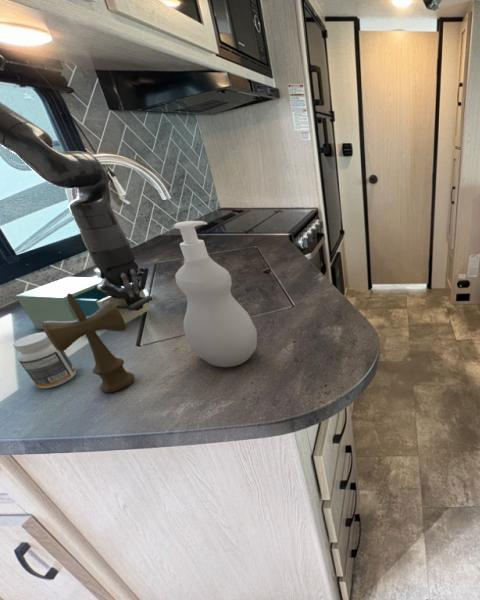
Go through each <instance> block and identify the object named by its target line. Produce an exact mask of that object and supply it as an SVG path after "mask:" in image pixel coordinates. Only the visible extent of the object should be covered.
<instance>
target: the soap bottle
mask: <svg viewBox="0 0 480 600" xmlns="http://www.w3.org/2000/svg"><path fill="white" fill-rule="evenodd" d="M202 225H208V222H206V221H204V220H185V221H179V222H176V223H174V224H173V228H174V229H176V230H177V229H178V230H179V231H180V234H181V237H182V242H180V243H179V248H180V251H181V253H182V256H183V264H182V266H181V267H180V268H179V269H178V270H177V272H176V273H175V274H174V278H175V283H176V285H177V287H178V289H179V290H180V291H181V292H182V293H183V294H184V295H185V298H186V300H187V303H186V310H185V313H184V318H183V322H182V323H183V329H184V330H183V331H184V337H185V341H186V343H187V344H188V345H189V347H190V348H191V349H192V350H193V352H194V353H195V354H196V356H198V357H199V358H200V359H202V360H204V362H207V363H208V364H210V365H211V366H214V367H220V368H231V367H236V366H239V365H241V364H243V363H245V362H247V361H248V360H249V359H250V358H251V356H253V354H254V353H255V351H256V350H257V347H258V330H257V328H256V326H255V324H254V322H253V320H252V318H251V316H250V314H249V313H248V312H247V310H246V309H244V307H243V306H241V304H240V303H239V302H238V301H237V300H236V299H235V297H234V296H233V294H232V292H231V291H232V290H231V289H232V286H233V280H232V276H231V274H230V273H229V271H228V270H227V269H226V268H224V267H223V266H221V265H220V264H218V263H217V262H216V261H214V259H212V258H211V256H210V255H209V253H208V251H207V247H206V243H205V240H203V239H199V237H198V234H197V231H196V228H195V227H197V226H202Z"/></svg>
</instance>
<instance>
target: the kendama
mask: <svg viewBox="0 0 480 600" xmlns="http://www.w3.org/2000/svg"><path fill="white" fill-rule="evenodd" d="M67 296H68V299H69V301H70V303H71V305H72V307H73V309H74V311H75V313H76V315H77V317H78V320H75V321H44V322H43V323H42V326H43V329H42V330H43V331H44V332H45V333H46V335H47V337H48V339H49V340H50V341H51V343H52V344H53V346H54V347H55V348H56V349H57V350H58V351H60V352H62V351H64V352H65V351H66V350H68V349H69V348H70V347H71V346H72V345H73V344H74V343H75V342H76V341H78V340H79V339H81V338H82V337H84V336H86V339H87V341H88V344H89V348H90V349H91V352H92V356H93V359H94V362H95V364H94V365H95V366H94V367H93V368H92V373H93V374H94V375H96V376H100V379H101V380H102V382H101V384H100V386H99V388H100V391H101V392H103V393H114V392H118V391H120V390H123V389H125V388H126V387H128V386H129V385H130V384H132V383H133V382H134V380H135V375H134V374H133V373H131V372H129V371H126V369H125V367H124V364H125V360H124V359H123V358H121V357H116V356H115V355H114V354H113V353H112V351H111V350H110V349H109V348H108V347H107V346H106V345H105V343H104V342H103V340H102V339H101V338H100V336H99V335H98V333H97V332H99V331H114V332H125V331H126V330H127V325H126V323H125V322H124V319H123V317H122V315H121V314H120V312H119V310H118V309H117V307H116V306H115V305H114V304H113V303H112V302H110V301H107V302H106V303H105V304H104V305H103V306H102V307H101V308H100V309H99V310H98V311H97V312H96V313H94V314H93V315H91V316H88V317H86V316H85V315H84V313H83V311H82V310H81V308H80V306H79V305H78V303H77V302H76V300H75V298H74V297H73V296H72V294H70V293H68V294H67Z"/></svg>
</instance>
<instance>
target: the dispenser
mask: <svg viewBox="0 0 480 600" xmlns="http://www.w3.org/2000/svg"><path fill="white" fill-rule="evenodd" d="M101 281H102V278H101V277H88V276H87V277H86V276H85V277H84V276H66V277H65V276H64V277H63V278H60V279H58V280H55V281H51V282H48V283H46V284H44V285H40V286H38V287H35V288H33V289H30V290H27V291H24V292H22V293H19V294H18V293H17V294H16V295H15V298H16V299H17V301H18V302H19V304H20V305H21V307H22V309H23V310H24V312H25V313H26V315H27V316H28V318H29V319H30V321H31V323H32V324H33V326H34V327H35V329H37V330H44V329H43V326H42V323H43V322H44V321H75V320H78V317H77V315H76V314H75V312H74V310H73V308H72V307H71V305H70V303H69V301H68V300H67V299H68V296H67V294H68V293H70V294H72V296H73V297H74V296H77V295H79V294H81V293H84V292H86V291H89V290H91V289H93V288H95V286H96V285H99V284H100V282H101ZM109 284H110V283H109Z"/></svg>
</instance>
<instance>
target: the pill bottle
mask: <svg viewBox="0 0 480 600" xmlns="http://www.w3.org/2000/svg"><path fill="white" fill-rule="evenodd" d="M12 345H13V347H14V349H15V350H16V351H17V352H18V354H17V360H18V362H19V363H20V365H21V366H22V367H23V369H24V370H25V372H26V373H27V375H28V376H29V377H30V379H31V380H32V381H33V383H34V384H35V385H36V386H37V388H40V389H50V388H51V389H52V388H55V387H58V386H60V385H63V384H65V383H66V382H68V381H70V380H72V379H73V378H74V377H75V375H76V374H77V370H76V367H75V366H74V365H73V363H72V362H71V360H70V358H69V357H68V355H67V353H66V352H65V351H62V352H60V351H58V350H57V349H56V348H55V347H54V346H53V344H52V343H51V341H50V340H49V339H48V337H47V335H46V333H45V331H44V332H43V331H42V332H35V333H32V334H27V335H26V336H22V337H21V338H18V339H17V340H15V341H14V342H13V344H12Z"/></svg>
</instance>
